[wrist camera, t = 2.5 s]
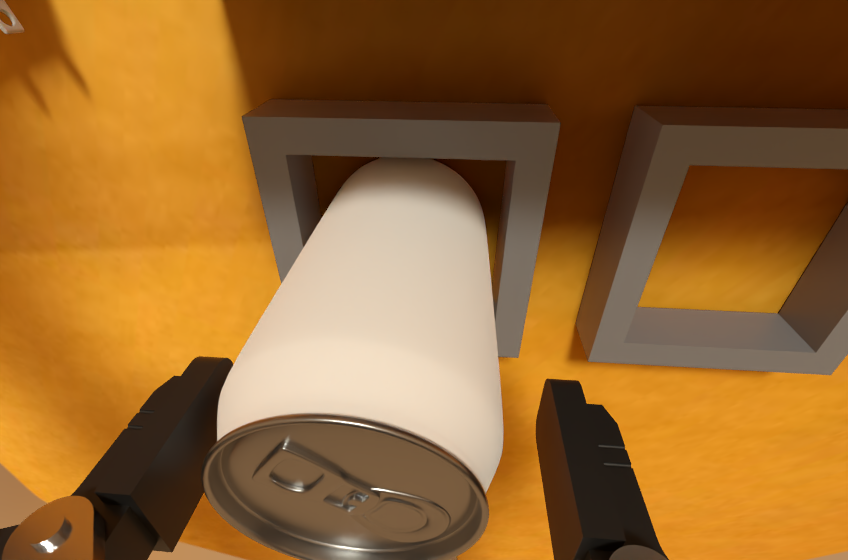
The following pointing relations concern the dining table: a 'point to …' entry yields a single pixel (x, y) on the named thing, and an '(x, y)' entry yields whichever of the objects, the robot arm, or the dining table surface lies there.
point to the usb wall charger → (16, 26)
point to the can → (370, 381)
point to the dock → (622, 227)
